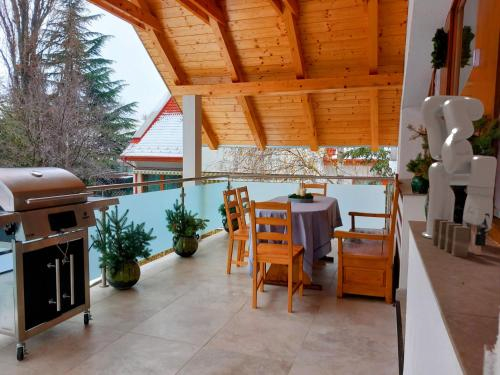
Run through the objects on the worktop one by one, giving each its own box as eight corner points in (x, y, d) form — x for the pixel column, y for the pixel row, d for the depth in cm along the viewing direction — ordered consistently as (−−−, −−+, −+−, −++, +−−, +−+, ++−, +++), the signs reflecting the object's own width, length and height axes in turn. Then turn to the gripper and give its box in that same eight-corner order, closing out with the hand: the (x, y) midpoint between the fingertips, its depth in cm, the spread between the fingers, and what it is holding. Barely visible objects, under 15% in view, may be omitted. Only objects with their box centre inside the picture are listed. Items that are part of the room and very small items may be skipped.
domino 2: (437, 247, 140) (440, 220, 139) (450, 247, 140) (452, 221, 139) (439, 248, 139) (442, 221, 138) (452, 249, 139) (454, 222, 138)
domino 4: (451, 254, 131) (454, 226, 130) (464, 255, 130) (467, 226, 129) (453, 256, 129) (456, 227, 128) (467, 256, 129) (470, 227, 128)
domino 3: (444, 251, 135) (446, 223, 135) (457, 251, 135) (459, 224, 134) (446, 252, 134) (449, 224, 133) (459, 252, 134) (462, 224, 133)
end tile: (475, 254, 131) (478, 225, 130) (468, 250, 135) (471, 223, 134) (480, 254, 131) (483, 226, 130) (473, 250, 135) (475, 223, 134)
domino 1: (431, 244, 145) (433, 218, 144) (443, 244, 145) (445, 219, 144) (433, 245, 144) (435, 219, 143) (445, 245, 144) (448, 219, 143)
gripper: (456, 188, 139) (452, 237, 141) (484, 194, 122) (478, 249, 124) (477, 189, 139) (472, 238, 141) (507, 195, 122) (501, 250, 124)
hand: (475, 243), depth 133 cm, fingers closed on end tile, 4 cm apart
